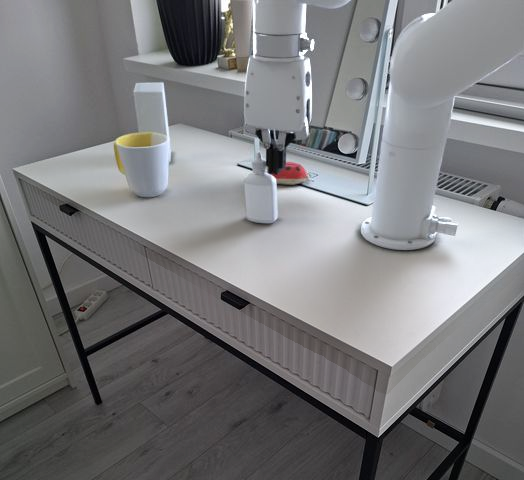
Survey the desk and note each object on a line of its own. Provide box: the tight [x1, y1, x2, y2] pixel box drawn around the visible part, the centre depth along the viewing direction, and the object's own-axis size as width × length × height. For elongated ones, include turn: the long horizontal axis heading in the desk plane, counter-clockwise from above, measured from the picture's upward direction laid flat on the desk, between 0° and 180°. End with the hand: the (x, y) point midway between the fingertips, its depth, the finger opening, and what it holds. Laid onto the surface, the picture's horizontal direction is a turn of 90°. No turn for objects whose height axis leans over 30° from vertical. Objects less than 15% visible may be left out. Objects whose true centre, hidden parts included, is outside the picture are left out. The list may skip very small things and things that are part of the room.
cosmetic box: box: [132, 81, 172, 164], centre depth 115 cm, size 8×7×16 cm
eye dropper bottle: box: [243, 150, 279, 224], centre depth 88 cm, size 4×6×12 cm
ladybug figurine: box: [266, 161, 310, 186], centre depth 106 cm, size 7×10×4 cm
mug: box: [113, 132, 170, 198], centre depth 101 cm, size 14×10×10 cm
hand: (275, 171), depth 85 cm, fingers closed
